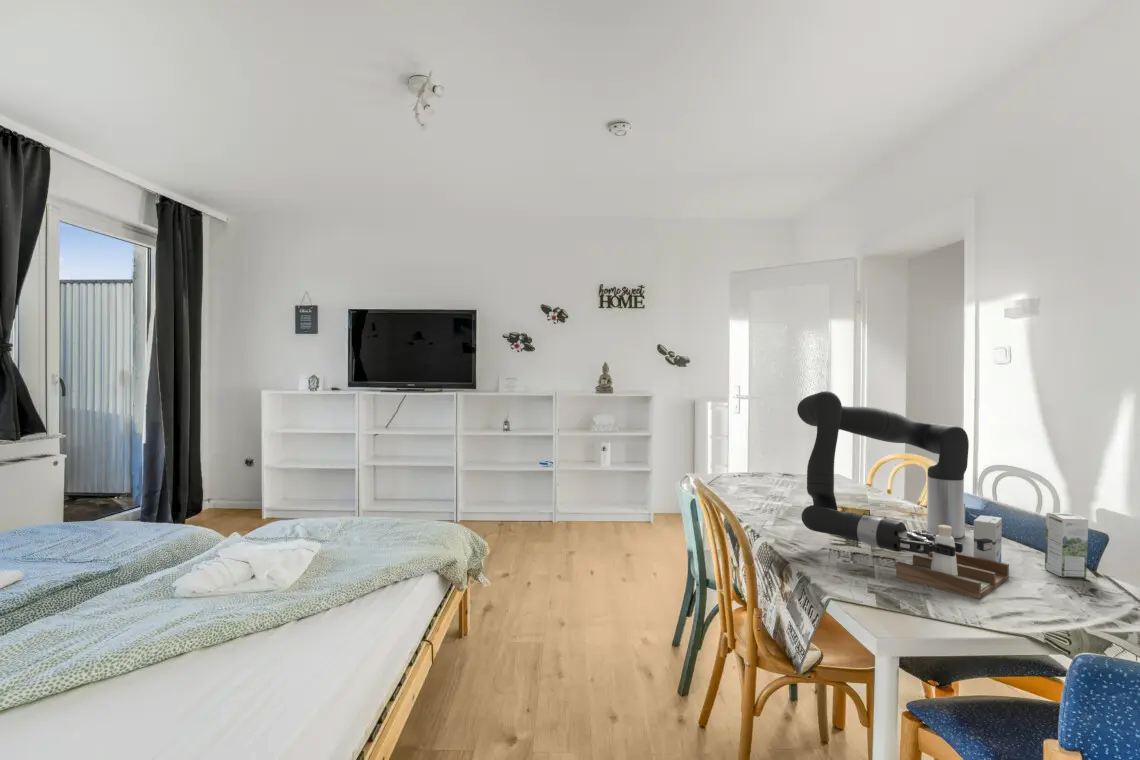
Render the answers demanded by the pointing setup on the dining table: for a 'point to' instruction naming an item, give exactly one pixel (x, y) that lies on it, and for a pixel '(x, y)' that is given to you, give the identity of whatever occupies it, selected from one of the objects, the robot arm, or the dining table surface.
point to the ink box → (988, 537)
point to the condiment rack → (971, 578)
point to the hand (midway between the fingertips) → (958, 550)
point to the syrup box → (1066, 544)
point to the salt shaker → (943, 561)
